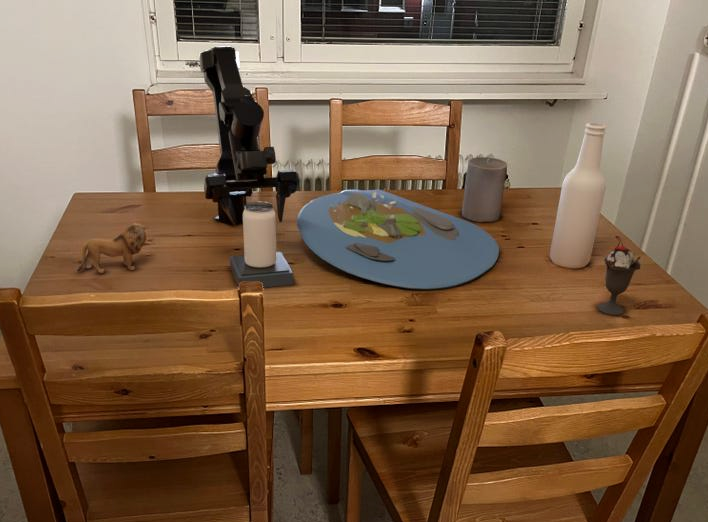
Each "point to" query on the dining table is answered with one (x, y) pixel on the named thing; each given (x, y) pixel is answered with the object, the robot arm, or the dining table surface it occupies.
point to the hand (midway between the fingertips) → (258, 223)
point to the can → (259, 234)
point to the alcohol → (580, 204)
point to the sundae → (618, 276)
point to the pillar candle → (484, 189)
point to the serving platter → (395, 240)
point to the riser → (262, 272)
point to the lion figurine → (115, 247)
